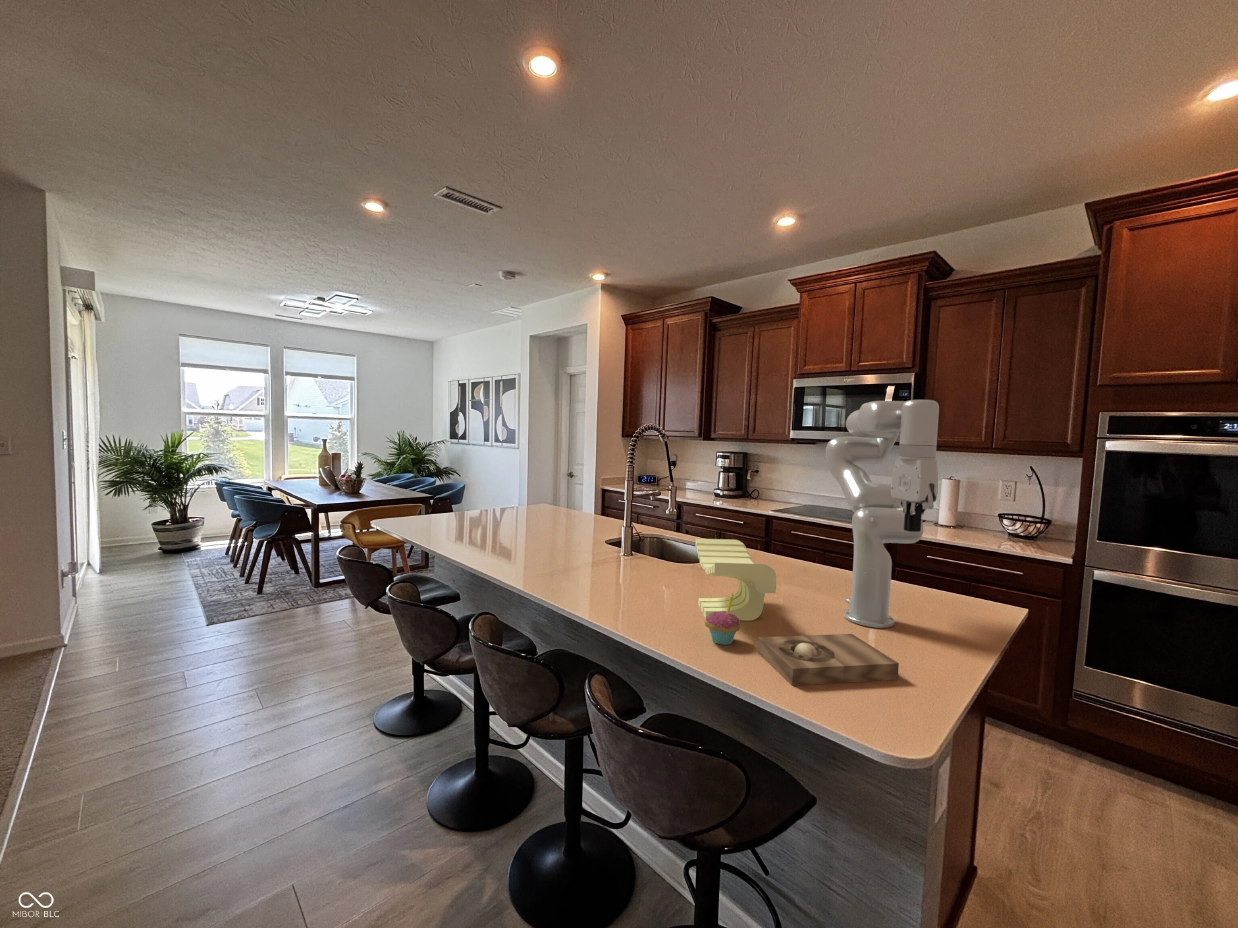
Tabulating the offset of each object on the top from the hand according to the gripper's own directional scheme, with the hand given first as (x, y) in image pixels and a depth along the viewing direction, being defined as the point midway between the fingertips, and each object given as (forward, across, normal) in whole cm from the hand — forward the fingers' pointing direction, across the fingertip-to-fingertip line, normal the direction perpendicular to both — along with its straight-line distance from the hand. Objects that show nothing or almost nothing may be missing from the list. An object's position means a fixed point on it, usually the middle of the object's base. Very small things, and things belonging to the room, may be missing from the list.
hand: (912, 530), depth 121 cm
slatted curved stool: (+29, -30, -32) cm, 53 cm away
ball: (+27, +5, -28) cm, 39 cm away
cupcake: (+29, -10, -42) cm, 52 cm away
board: (+29, +5, -24) cm, 38 cm away
